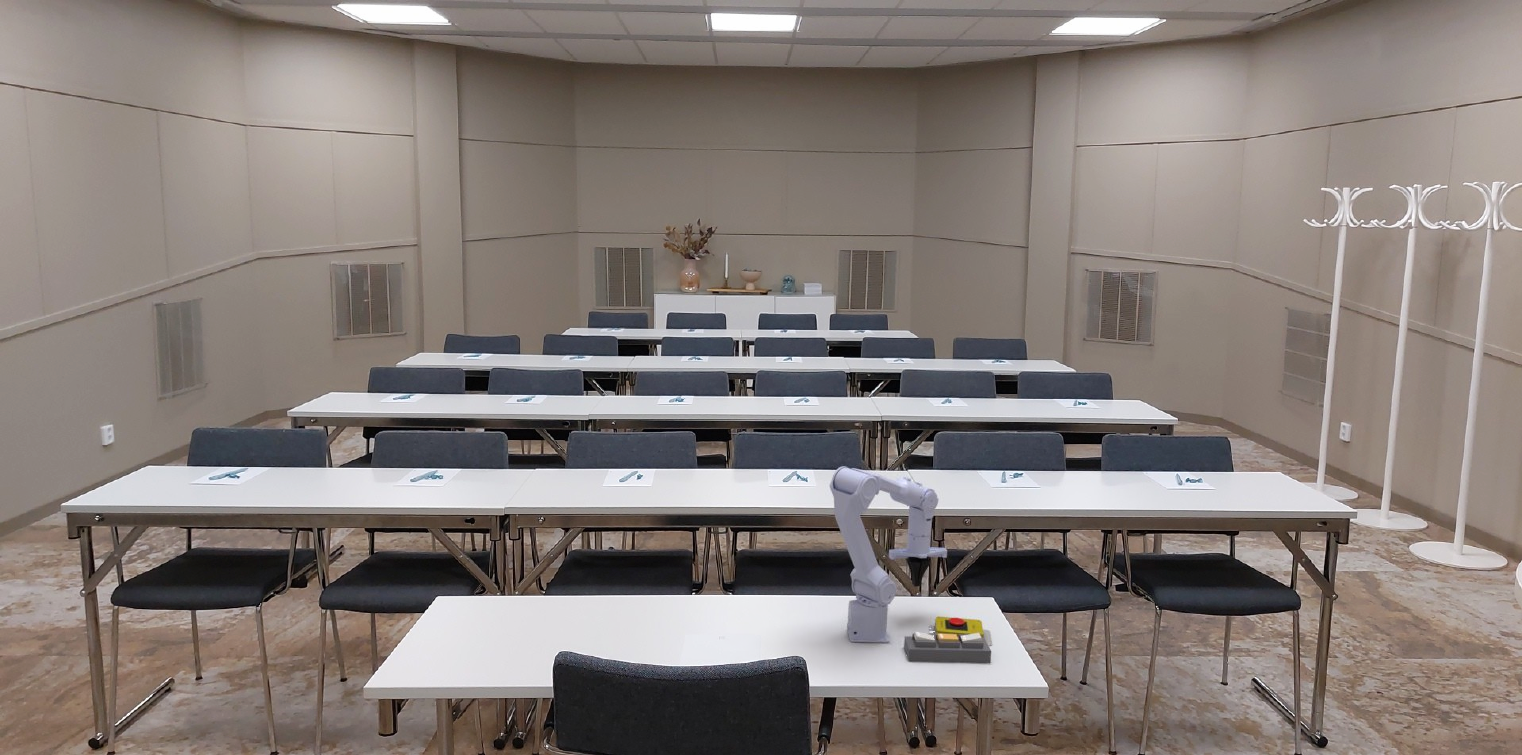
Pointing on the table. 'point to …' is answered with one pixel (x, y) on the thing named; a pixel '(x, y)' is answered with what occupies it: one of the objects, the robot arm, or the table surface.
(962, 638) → the rocker right
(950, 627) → the emergency button
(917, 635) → the rocker left
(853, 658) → the table surface
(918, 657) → the switch strip
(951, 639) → the rocker amber
